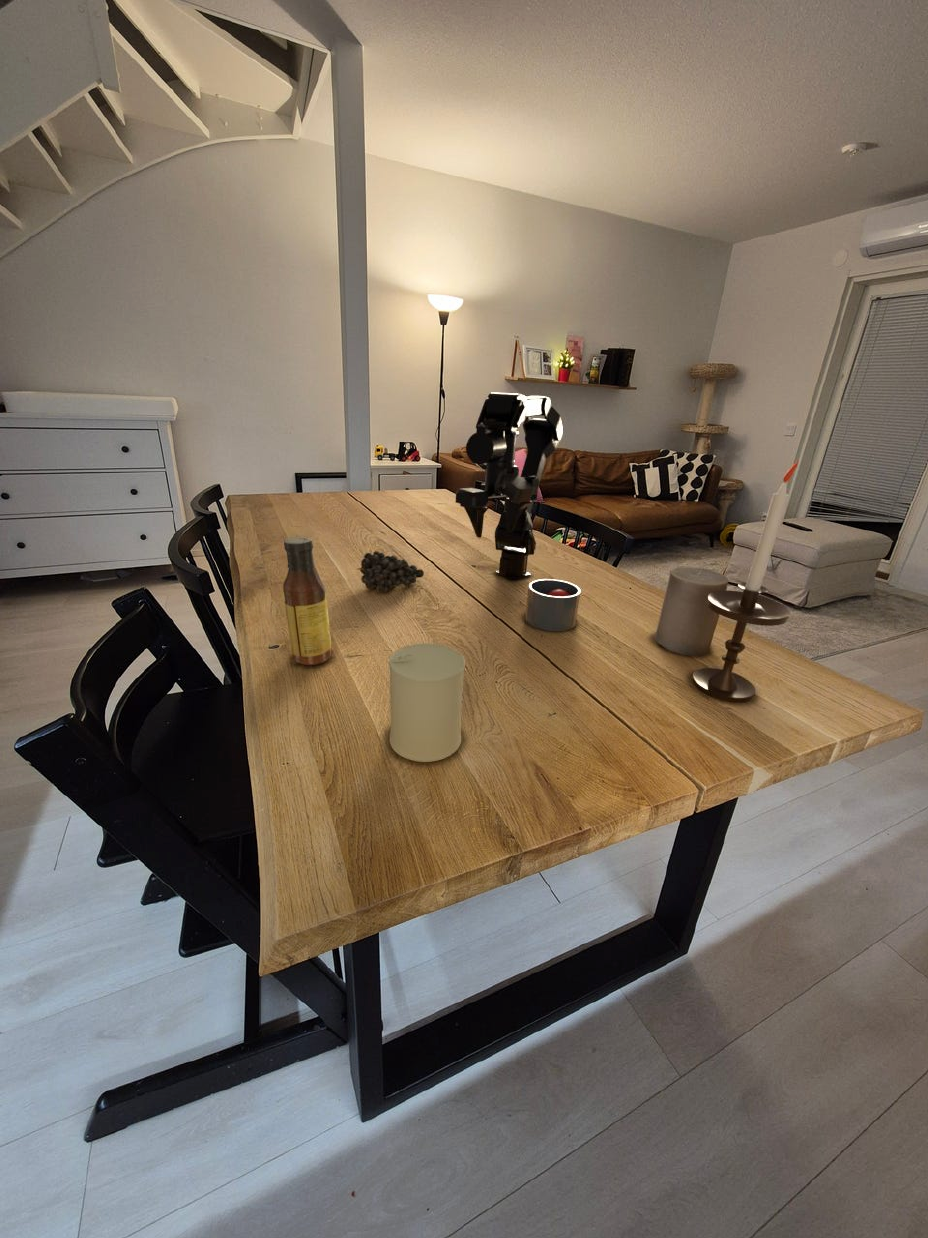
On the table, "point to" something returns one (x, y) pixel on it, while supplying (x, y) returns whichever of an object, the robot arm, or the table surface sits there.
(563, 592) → the apple
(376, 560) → the fruit
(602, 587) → the table surface
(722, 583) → the pillar candle
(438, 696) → the can
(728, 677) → the candlestick
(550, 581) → the cup
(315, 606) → the sauce bottle
